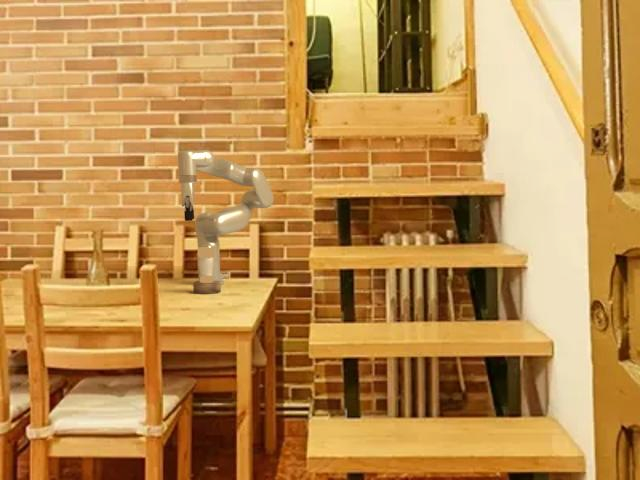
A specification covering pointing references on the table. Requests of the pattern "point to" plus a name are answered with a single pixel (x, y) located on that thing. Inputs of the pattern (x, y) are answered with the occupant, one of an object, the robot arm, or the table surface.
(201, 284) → the walnut pedestal
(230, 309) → the table surface
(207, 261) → the beer glass
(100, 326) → the table surface
